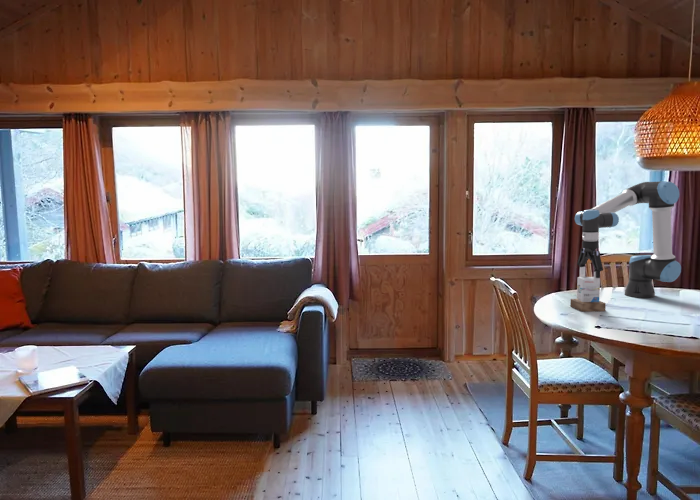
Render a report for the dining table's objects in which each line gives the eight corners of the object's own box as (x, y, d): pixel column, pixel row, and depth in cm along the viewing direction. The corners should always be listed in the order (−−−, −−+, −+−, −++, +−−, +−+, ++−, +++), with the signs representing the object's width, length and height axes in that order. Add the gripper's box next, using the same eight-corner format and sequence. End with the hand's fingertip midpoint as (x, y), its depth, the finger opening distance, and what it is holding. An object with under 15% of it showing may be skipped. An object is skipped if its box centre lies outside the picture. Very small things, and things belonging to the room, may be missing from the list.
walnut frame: (592, 305, 272) (592, 297, 271) (605, 311, 260) (605, 302, 259) (570, 306, 271) (570, 298, 270) (582, 311, 259) (582, 303, 258)
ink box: (593, 298, 269) (594, 276, 267) (599, 302, 260) (600, 279, 259) (576, 298, 270) (577, 276, 268) (582, 302, 261) (583, 279, 260)
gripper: (570, 238, 273) (569, 277, 276) (596, 243, 249) (595, 286, 251) (584, 237, 274) (583, 277, 277) (611, 242, 249) (610, 286, 252)
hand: (589, 281), depth 264 cm, fingers open, 13 cm apart
